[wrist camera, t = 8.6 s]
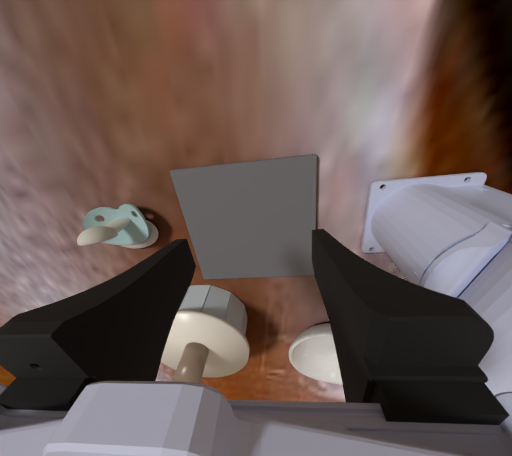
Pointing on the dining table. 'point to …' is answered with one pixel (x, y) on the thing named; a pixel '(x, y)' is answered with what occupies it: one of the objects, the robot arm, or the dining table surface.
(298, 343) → the spoon rest
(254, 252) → the mat
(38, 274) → the dining table surface
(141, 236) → the pacifier
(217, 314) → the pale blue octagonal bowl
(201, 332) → the lid
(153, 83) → the dining table surface
